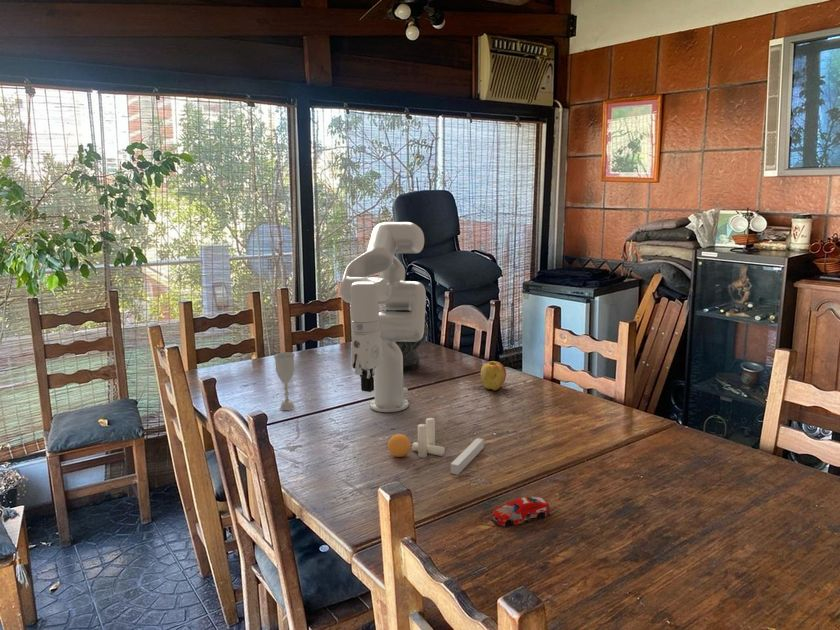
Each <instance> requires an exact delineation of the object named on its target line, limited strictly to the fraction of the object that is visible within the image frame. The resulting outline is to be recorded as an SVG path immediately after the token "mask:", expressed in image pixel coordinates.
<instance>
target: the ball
mask: <svg viewBox="0 0 840 630" xmlns="http://www.w3.org/2000/svg"><path fill="white" fill-rule="evenodd" d="M410 442H411V441H410V440H409V437H408V436H406V435H405V434H401V433H397V434H394V435H392V436H391V437H390V438H389V439H388V442H387V450H388V451H389V453H390V454H391V455H392V456H393V457H396V458H402V457H405V456H406V455H407V454H408V453H409V451H410V448H411V443H410Z"/></svg>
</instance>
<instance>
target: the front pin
mask: <svg viewBox="0 0 840 630" xmlns="http://www.w3.org/2000/svg"><path fill="white" fill-rule="evenodd" d="M411 449H412V451H413V452H416V453H418V441H414V442H413V443H412V447H411ZM445 451H446V450H445V447H444V446H439V445H436V444H435V445H429V444H427V455H428V454H429V455H435V456H440V457H443V456H444V454H445Z"/></svg>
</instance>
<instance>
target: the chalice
mask: <svg viewBox="0 0 840 630" xmlns="http://www.w3.org/2000/svg"><path fill="white" fill-rule="evenodd" d="M295 356H296V353H294V352H289V351H287V352H286V351H285V352H279V353H275V354H274V355H273V358H274V362H275V371H276V374H277V377H278V378H279V380H280V383H282V384H284V388H283V390H284V393H283V395H284V398H285V399H284V400H283V401H282V402H281V403H280V404H281V405H280V407H279V410H280V409H281V410H280V411H282V410H289V411H292V409H293V410H294V409H296V406H295V405H294V401H292V400H290V399H289V395H290V393H289V390H290V388H289V387H288V384H289V383H290V382H291V380H292V378H293V375H294V371H295V361H294V359H295Z"/></svg>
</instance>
